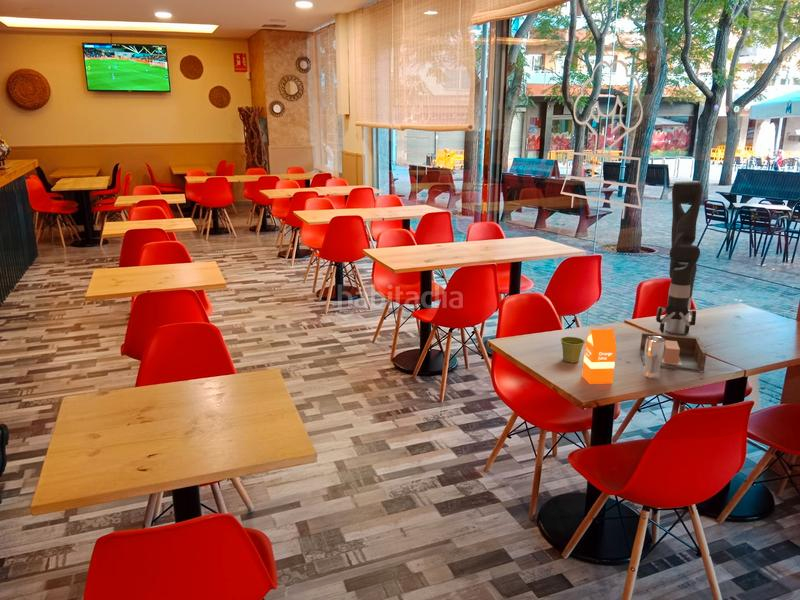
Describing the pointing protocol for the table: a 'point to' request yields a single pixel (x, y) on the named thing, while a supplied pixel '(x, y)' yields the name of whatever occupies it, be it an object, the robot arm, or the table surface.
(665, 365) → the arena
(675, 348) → the terracotta bar
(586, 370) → the orange juice
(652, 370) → the beer glass
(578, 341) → the plant pot
